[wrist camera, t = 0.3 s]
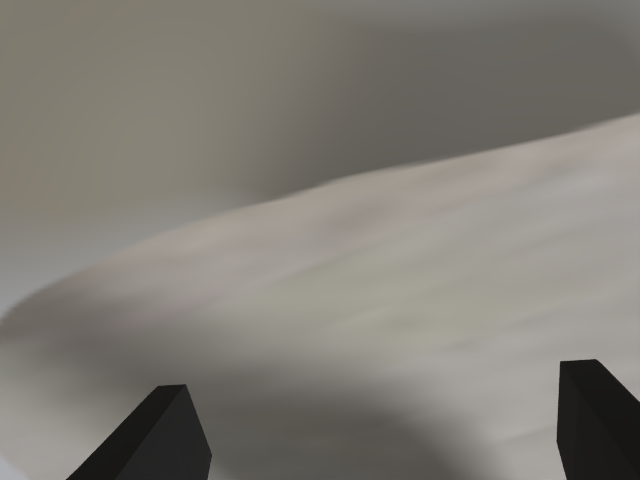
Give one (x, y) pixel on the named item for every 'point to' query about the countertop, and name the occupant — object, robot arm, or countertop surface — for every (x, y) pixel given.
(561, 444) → the robot arm
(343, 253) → the countertop surface
